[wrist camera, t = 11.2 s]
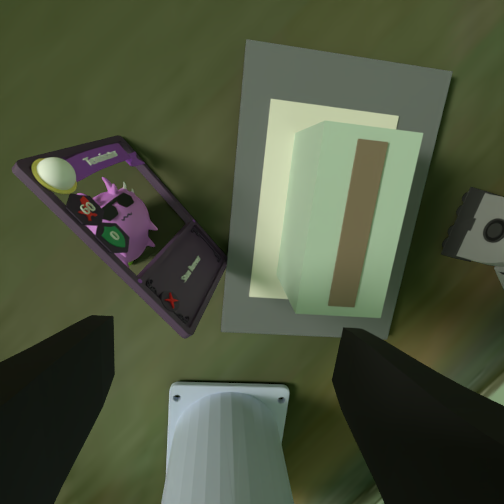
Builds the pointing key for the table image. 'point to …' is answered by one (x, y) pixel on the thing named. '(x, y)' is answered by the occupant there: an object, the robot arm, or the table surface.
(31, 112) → the table surface
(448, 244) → the figurine
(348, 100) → the mat
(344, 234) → the mint slotted box
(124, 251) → the game card
